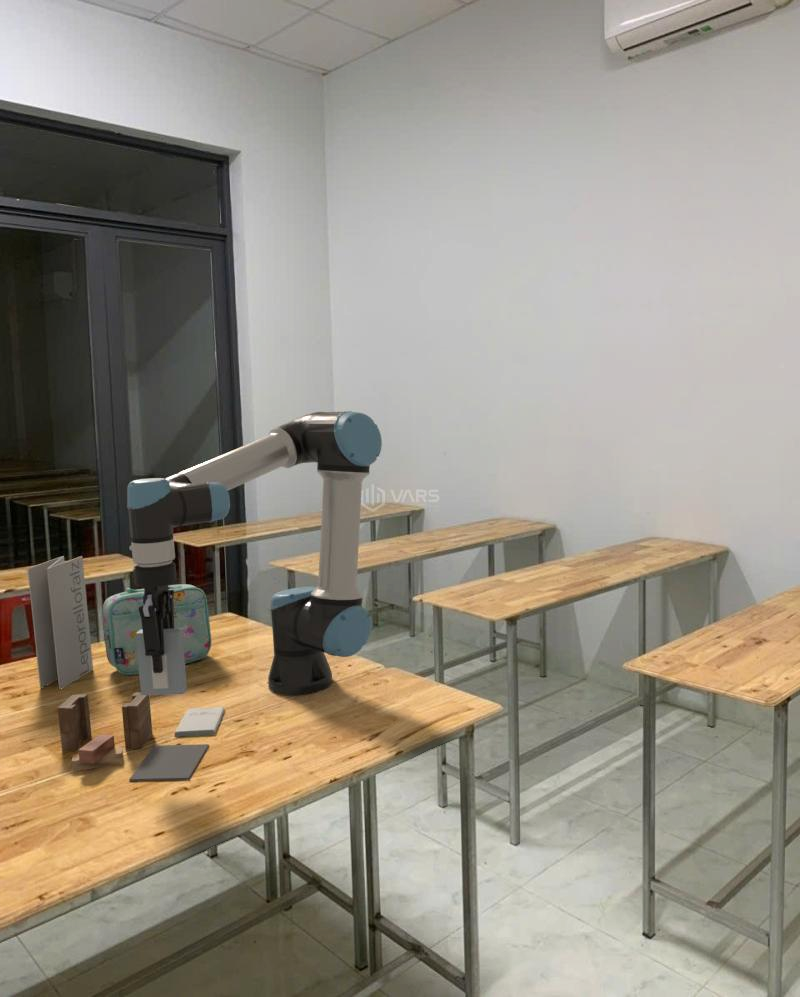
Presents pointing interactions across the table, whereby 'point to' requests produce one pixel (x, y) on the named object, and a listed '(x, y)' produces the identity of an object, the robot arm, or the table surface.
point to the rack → (78, 725)
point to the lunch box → (126, 622)
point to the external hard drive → (200, 721)
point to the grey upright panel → (174, 664)
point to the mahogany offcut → (96, 748)
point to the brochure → (60, 620)
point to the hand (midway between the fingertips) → (163, 684)
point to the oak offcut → (109, 759)
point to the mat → (170, 762)
